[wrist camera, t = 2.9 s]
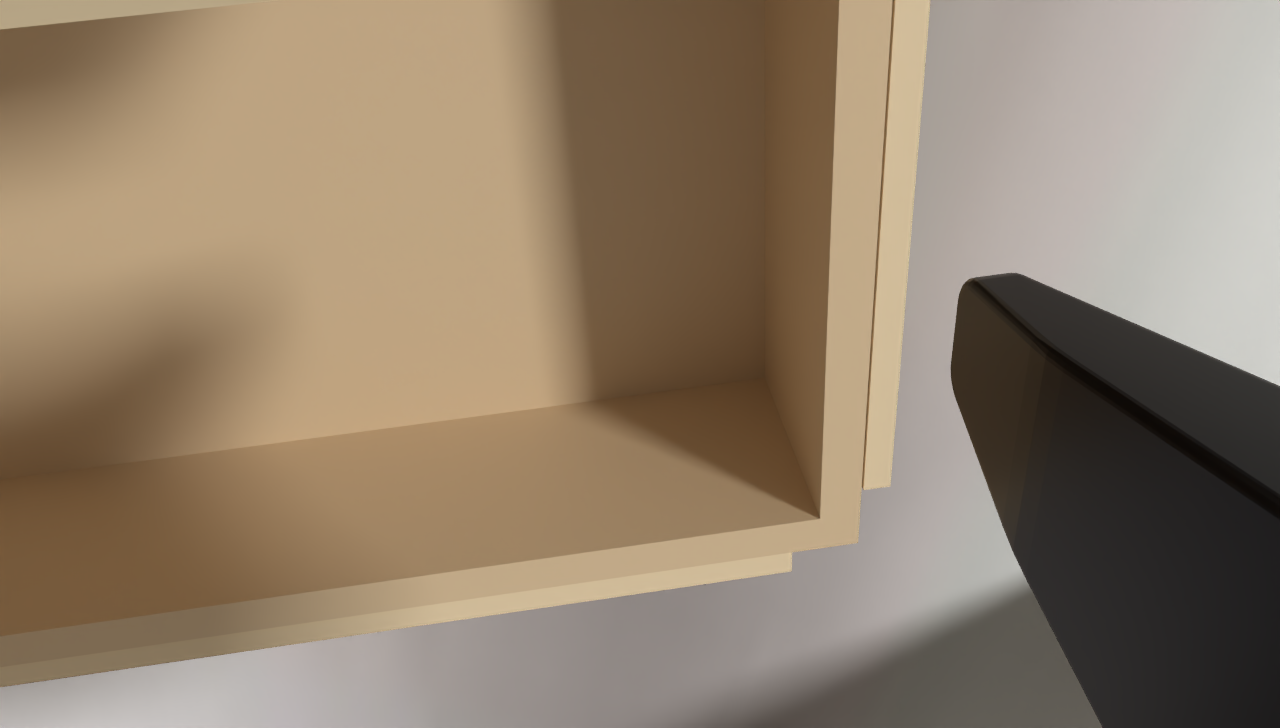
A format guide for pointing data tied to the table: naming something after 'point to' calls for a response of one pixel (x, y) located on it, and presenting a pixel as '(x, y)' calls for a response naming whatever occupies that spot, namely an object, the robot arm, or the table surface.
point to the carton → (437, 310)
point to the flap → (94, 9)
